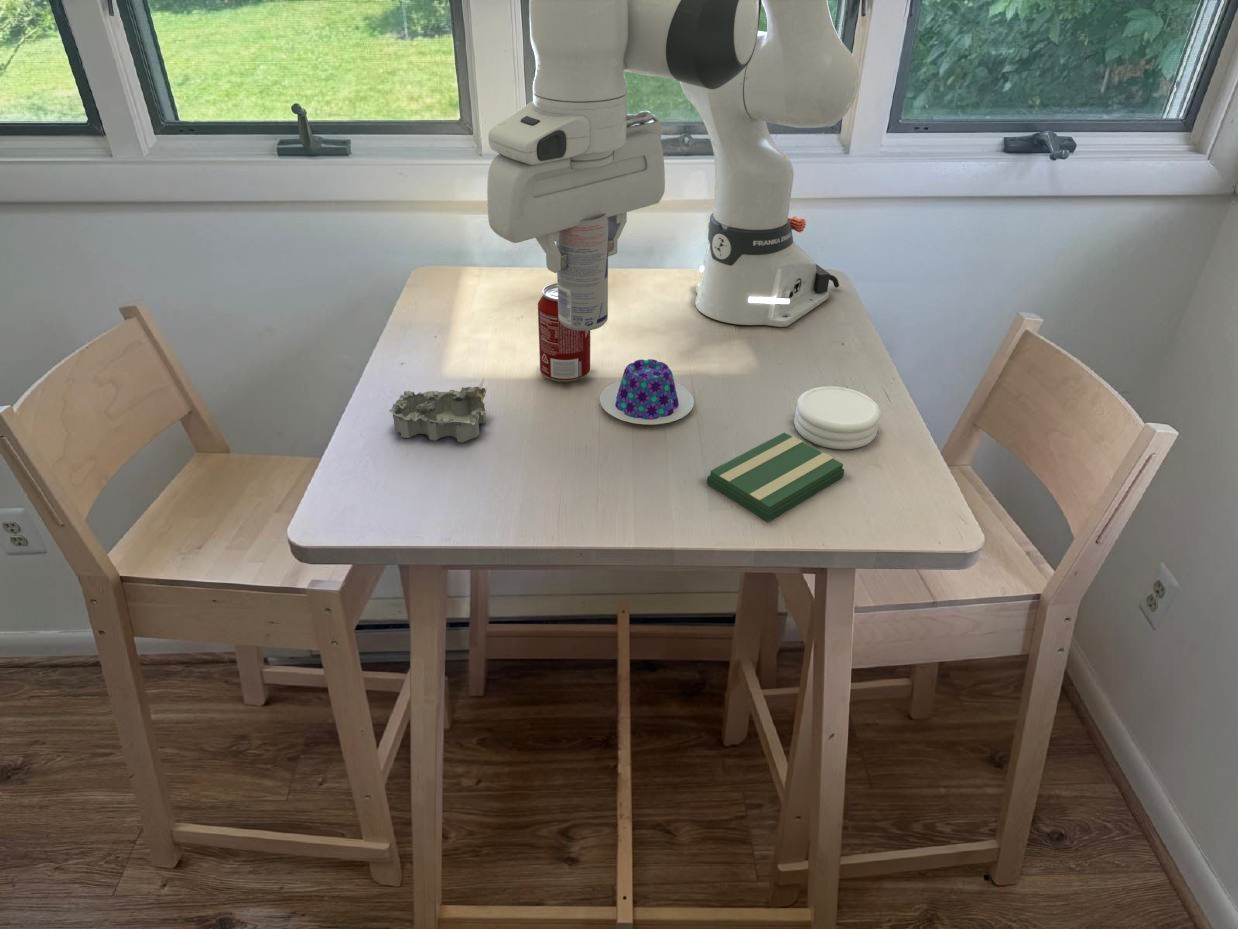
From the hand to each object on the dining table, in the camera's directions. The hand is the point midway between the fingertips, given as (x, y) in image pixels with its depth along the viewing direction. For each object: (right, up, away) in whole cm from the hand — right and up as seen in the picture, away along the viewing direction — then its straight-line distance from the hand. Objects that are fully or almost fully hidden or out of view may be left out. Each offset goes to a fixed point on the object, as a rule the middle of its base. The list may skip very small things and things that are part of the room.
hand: (582, 262), depth 91 cm
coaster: (+30, -17, +16) cm, 38 cm away
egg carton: (-18, -17, +15) cm, 29 cm away
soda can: (-3, -9, +27) cm, 29 cm away
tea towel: (+22, -23, +7) cm, 32 cm away
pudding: (+7, -14, +20) cm, 26 cm away
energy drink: (0, -6, +4) cm, 7 cm away
